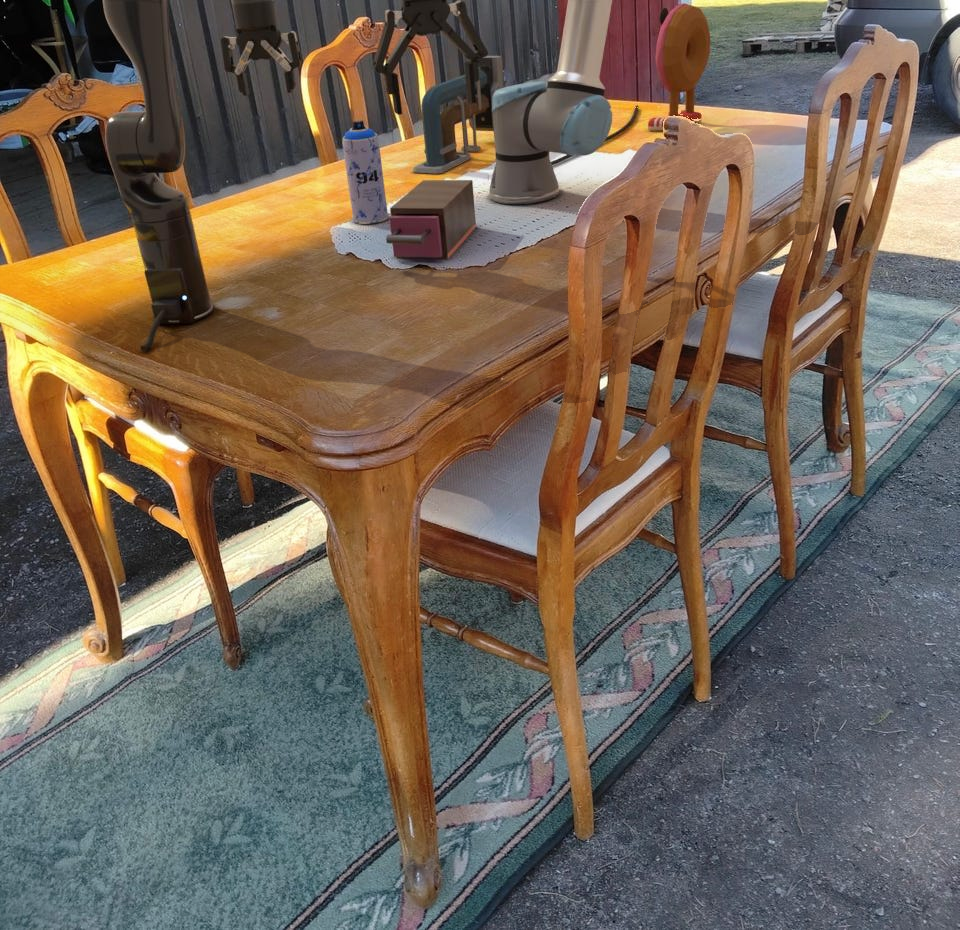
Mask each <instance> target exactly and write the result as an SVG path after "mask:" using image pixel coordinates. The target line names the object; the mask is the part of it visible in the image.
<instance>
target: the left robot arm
mask: <svg viewBox="0 0 960 930" xmlns="http://www.w3.org/2000/svg"><path fill="white" fill-rule="evenodd" d="M230 1H231V7H232V12H233V13H232V14H233V18H234V24H235V29H236V36H230V35H225V36H223V37H221V39H220V45H221V52H222V59H223V60H222V61H223V66H224V70H225V72H227V73H231V74H234V75H235V76H236V82H237V88H238V91H239V93H241V94H242V96H243V97H246V96H249V95H250V88H249V84H248V78H247V73H246V72H245V71H246V69H247V67H248V64H249V63H250V62H251V60H252V61H259V60H265V61H266V60H271V59H272V58H273V59H274V60H275V62H277V63H278V64H279V65H280V66H281V67H282V68H283V70H284V72H283V73H284V79H285V87H286V92H287V94H290V93H291V94H292V93H293V92H294V90H295V89H296V87H297V86H296V85H297V84H296V77H295V69H297V68H299V67H301V66H302V65H303V58H302V53H301V49H300V43H299V38H298V34H297V32H296V31H295V30H291V31H290V32H284V33H281V31H280V30H279V25H278V19H277V13H276V7H275V0H230ZM102 5H103V14H104V16H105V19H106V22H107V24H108V27H109V28H110V30H111V32H112V33H113V36H114V37H115V38H116V40H117V42H118V43H119V44H120V46H121V48H122V49H123V51H124V52H125V54H126V55H127V56H128V58H129V59H130V62H131V63H132V65H133V66H134V69H135V71H136V73H137V76H138V78H139V81H140V84H141V89H142V92H143V93H142V94H143V101H144V110H134V111H133V110H127V111H118V112H115V113H113V114H112V115H111V116H110V117H109V118H108V119H107V121H106V125H105V131H104V138H105V139H104V140H105V147H106V152H107V157H108V159H109V164H110V166H111V169H112V172H113V175H114V179H115V181H116V184H117V187H118V191H119V194H120V197H121V200H122V202H123V204H124V205H125V207H126V208H127V210H128V212H129V214H130V218H131V221H132V225H133V229H134V233H135V237H136V240H137V245H138V248H139V253H140V256H141V260H142V264H143V267H144V271H143V272H144V276H145V280H146V283H147V284H146V285H147V288H148V293H149V297H150V300H151V305H150V306H151V309H152V310H151V311H152V314H153V317H154V321H153V323H152V324H151V327H150V330H149V333H148V336H147V340H145V342H144V343H143V344H142V345H141V346H140V350H141V351H142V352H145V351H146V350H148V349H150V348H151V346H152V345H153V342H154V340H155V335H156V332H157V330H158V328H159V325H188V324H189V325H192V324H194V323H195V322H196V321H199V320H201V319H203V318H206V317H207V316H209V315H211V314H212V312H213V311H214V307H213V303H212V301H211V296H210V292H209V287H208V284H207V279H206V274H205V270H204V265H203V262H202V261H203V260H202V257H201V252H200V248H199V244H198V239H197V235H196V231H195V225H194V221H193V218H192V213H191V209H190V205H189V204H190V203H189V200H188V197H187V195H186V193H184V192H183V191H181V190H179V189H177V188H175V187H173V186H171V185H169V184H167V182H164V181H163V180H162V179H161V178H160V177H159V176H158V175H157V174H173V173H176V172H178V171H179V170H180V169H181V168H182V166H183V165H184V162H185V159H186V150H187V149H186V148H187V147H186V146H187V145H186V133H185V127H184V126H185V125H184V120H183V114H182V109H181V104H180V98H179V93H178V87H177V81H176V75H175V69H174V62H173V52H172V44H171V43H172V42H171V31H170V17H169V2H168V0H102ZM283 41H284V42H285V44H286V46H289V49H290V54H291V59H292V61H291V60H290V59H289V58H288V57H287V55H286V54H285V52H284V51H283V50H282V49H281V48H280V46H281V44H282V42H283ZM235 45H237V46H238V47H239V48H240V49H241V50H242V53H241V56H240V58H239V60H238V62H237V65H236V64H235V61H234V55H233V54H234V53H233V50H234V49H235Z"/></svg>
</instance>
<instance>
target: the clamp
mask: <svg viewBox="0 0 960 930" xmlns="http://www.w3.org/2000/svg"><path fill="white" fill-rule="evenodd" d="M467 62H469V60H468V59H467ZM478 69H479V81H476V82H474V83H475V95H476V103H471V102H469V101H467V89H466V78H465V74H462V75H460V76H457V77H454V78H452V79H449V80H446V81H444V82H441V83H438V84H434V85H433V86H431V87H429V88H428V90H426V92H425V94H424V96H423V97H422V100H421V104H420V105H421V107H420V108H421V110H420V111H421V120H422V121H421V122H422V130H423V131H422V132H423V140H424V141H423V143H424V150H423V153H424V155H425V161H424V162H421V163H419V164H417V165H415V166H414V167H413V169H412V172H413V173H419V174H420V173H421V174H435V175H436V174H443V173H445V172H447V171H449V170H451V169H453V168H455V167H458V166H459V165H461V164H463V163H465V162H467V161H469V160H471V159H472V158H471V154H470V152H473V153H476V152H479V151H481V150H482V148H481V146H480V145H478V142H477V141H478V139H477V131H478V132H479V131H480V132H494V129H493V117H492V97H493V94H494V92H495V91H497V90H498V89H501V88H504V75H503V74H504V73H503V60H502V56H501V55H487V56H486V57H483V58H481V59H480V61H479V62H478ZM452 101H457V102H455V103H453V104H451V105H448V104H449V102H452ZM441 105H444V109H443V110H442V111H441ZM467 120H468V124H467ZM459 123H461V129H462V131H461V132H462V142H463V146H462V147H461V151H457V146H458V144H457V141H456V140H457V139H456V125H457V124H459ZM467 125H468V126H469V127H470V128H471V129H472V138H473V139H472V140H473V144H469V136H468V135H469V134H468V127H467Z"/></svg>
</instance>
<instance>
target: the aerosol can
mask: <svg viewBox="0 0 960 930" xmlns="http://www.w3.org/2000/svg"><path fill="white" fill-rule="evenodd" d="M380 148H381V147H380V140H379V137H378V134H377V133H376V132H375V131H374V130H373V129H371V128H369V127H368V126H365V123H364V120H358V121H352V127H351V128H349V130H347V131H346V132H345V134H344V136H343V137H342V150H343V157H344V163H345V170H346V179H347V185H348V192H349V198H350V204H351V205H350V206H351V214H352V217H351V218H352V219H351V220H352V222H353V223H355V224H360V225H371V224H378V223H382V222H385V221H386V220H388V219H389V218H390V215H389V212H388V205H387V197H386V189H385V181H384V180H385V179H384V173H383V166H382V165H383V164H382V157H381V149H380Z"/></svg>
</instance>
